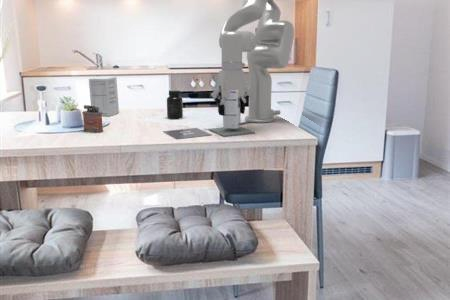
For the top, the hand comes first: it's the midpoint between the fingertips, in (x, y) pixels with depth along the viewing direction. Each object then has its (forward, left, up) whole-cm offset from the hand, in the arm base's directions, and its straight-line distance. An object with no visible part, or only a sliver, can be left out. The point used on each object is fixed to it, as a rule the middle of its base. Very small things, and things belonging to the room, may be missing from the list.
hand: (231, 113), depth 170 cm
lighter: (+46, -25, -7) cm, 53 cm away
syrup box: (0, 0, -5) cm, 5 cm away
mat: (0, 0, -7) cm, 7 cm away
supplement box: (+33, -60, -7) cm, 69 cm away
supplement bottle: (+8, -37, -7) cm, 38 cm away
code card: (+16, -5, -7) cm, 18 cm away
